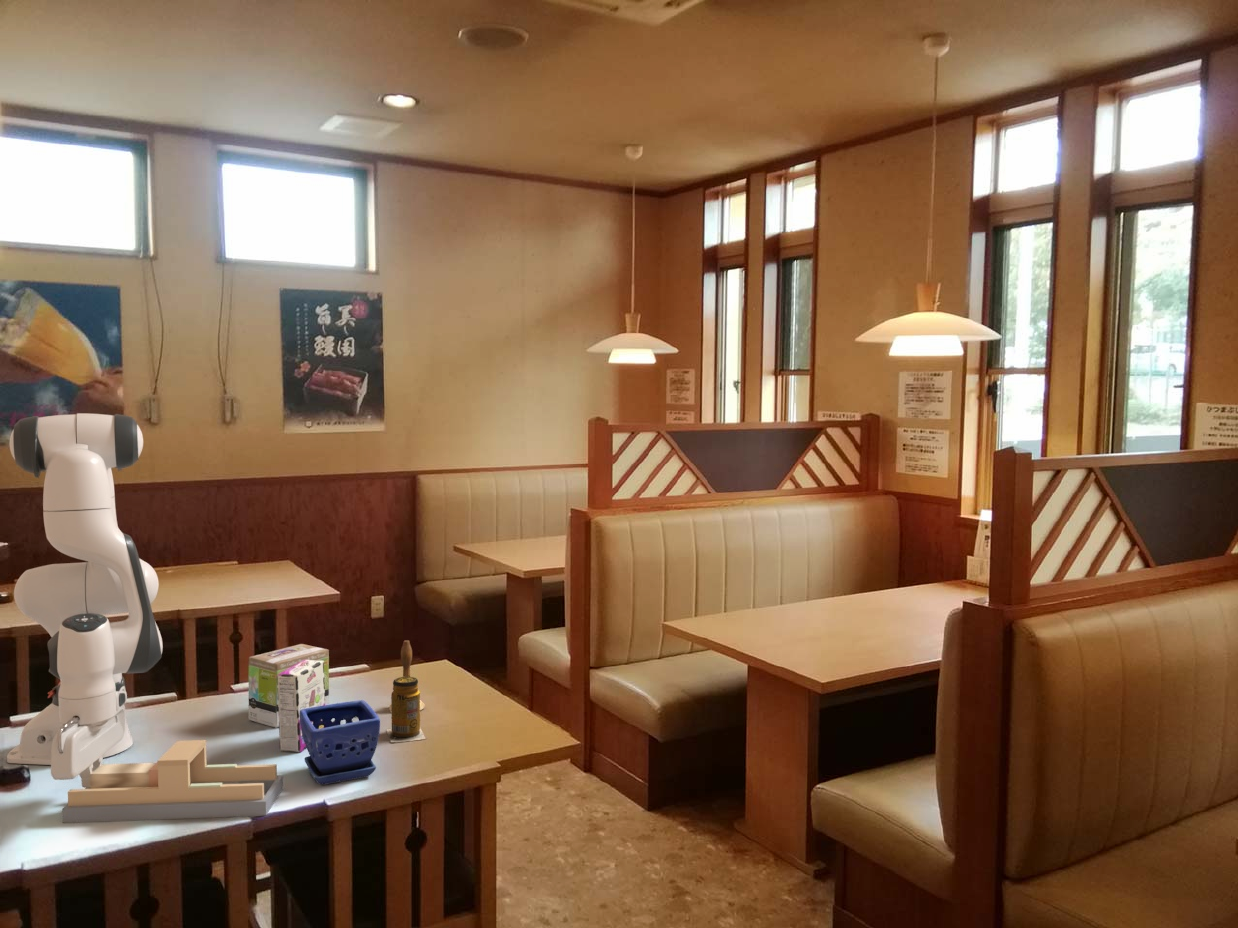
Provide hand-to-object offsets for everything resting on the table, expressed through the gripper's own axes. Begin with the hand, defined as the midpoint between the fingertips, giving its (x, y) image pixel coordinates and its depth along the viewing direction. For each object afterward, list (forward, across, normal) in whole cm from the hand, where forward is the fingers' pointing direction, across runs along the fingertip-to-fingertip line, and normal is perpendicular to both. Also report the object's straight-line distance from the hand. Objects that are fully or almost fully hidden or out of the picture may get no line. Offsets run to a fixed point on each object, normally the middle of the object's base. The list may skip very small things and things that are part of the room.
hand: (90, 784), depth 169 cm
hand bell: (+5, +51, -48) cm, 70 cm away
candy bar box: (+5, +30, -29) cm, 42 cm away
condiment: (+5, +33, -50) cm, 60 cm away
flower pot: (+5, +13, -40) cm, 43 cm away
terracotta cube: (+2, 0, -13) cm, 14 cm away
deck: (+4, 0, -15) cm, 15 cm away
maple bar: (+2, 0, -6) cm, 6 cm away
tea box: (+5, +48, -22) cm, 53 cm away
